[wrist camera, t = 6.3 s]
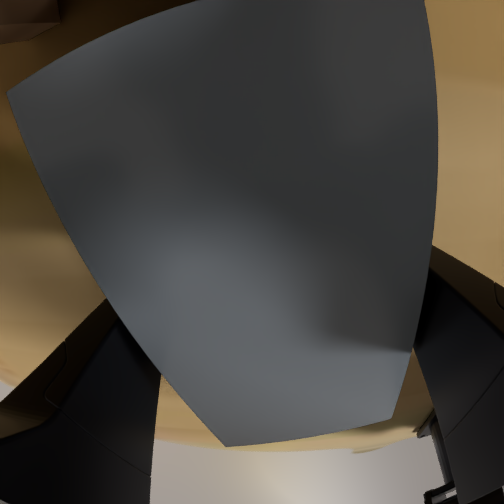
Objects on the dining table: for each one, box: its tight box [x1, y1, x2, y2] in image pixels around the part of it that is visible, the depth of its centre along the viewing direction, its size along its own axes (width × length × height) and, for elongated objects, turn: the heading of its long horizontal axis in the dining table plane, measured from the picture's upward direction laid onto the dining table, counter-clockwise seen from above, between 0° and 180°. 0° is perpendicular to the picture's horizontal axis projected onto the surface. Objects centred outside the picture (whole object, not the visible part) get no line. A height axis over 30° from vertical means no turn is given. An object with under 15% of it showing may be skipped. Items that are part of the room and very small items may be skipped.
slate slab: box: [6, 0, 438, 447], centre depth 8 cm, size 12×6×4 cm, turn 13°
